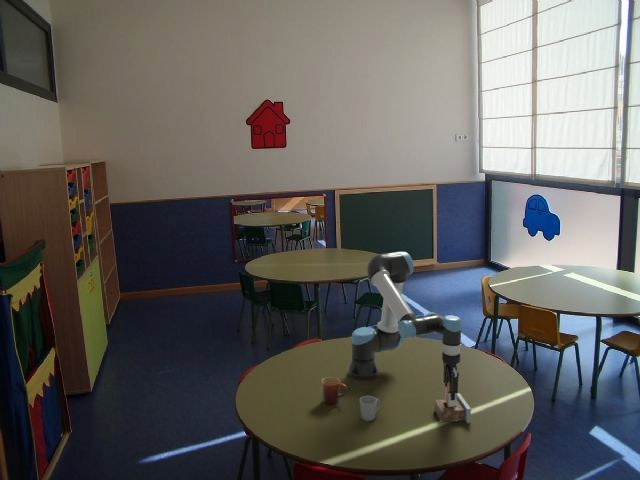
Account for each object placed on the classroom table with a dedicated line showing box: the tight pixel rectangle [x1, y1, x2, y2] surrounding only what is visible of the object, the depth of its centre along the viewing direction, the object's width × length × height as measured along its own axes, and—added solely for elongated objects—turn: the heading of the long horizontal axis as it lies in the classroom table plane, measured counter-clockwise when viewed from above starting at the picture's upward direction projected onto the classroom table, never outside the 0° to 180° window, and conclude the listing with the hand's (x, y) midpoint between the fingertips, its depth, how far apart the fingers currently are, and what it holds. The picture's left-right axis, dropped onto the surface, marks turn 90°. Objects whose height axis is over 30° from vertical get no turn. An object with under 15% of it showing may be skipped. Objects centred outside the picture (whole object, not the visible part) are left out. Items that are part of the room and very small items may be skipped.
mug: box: [320, 376, 348, 406], centre depth 250 cm, size 12×9×10 cm
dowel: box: [447, 382, 453, 408], centre depth 235 cm, size 3×3×14 cm
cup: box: [359, 395, 381, 422], centre depth 237 cm, size 8×10×8 cm
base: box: [455, 392, 472, 423], centre depth 237 cm, size 2×14×6 cm, turn 5°
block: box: [434, 398, 465, 423], centre depth 237 cm, size 10×10×5 cm
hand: (450, 403), depth 236 cm, fingers open, 4 cm apart
